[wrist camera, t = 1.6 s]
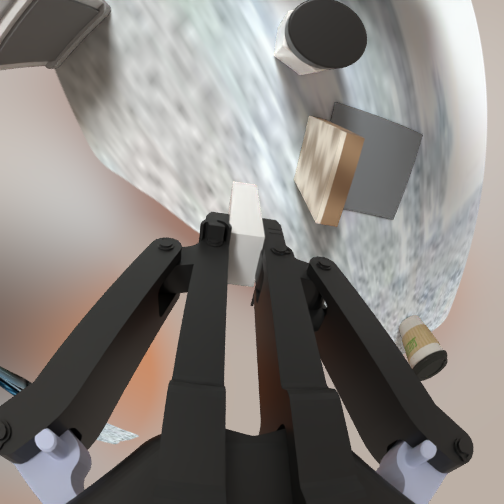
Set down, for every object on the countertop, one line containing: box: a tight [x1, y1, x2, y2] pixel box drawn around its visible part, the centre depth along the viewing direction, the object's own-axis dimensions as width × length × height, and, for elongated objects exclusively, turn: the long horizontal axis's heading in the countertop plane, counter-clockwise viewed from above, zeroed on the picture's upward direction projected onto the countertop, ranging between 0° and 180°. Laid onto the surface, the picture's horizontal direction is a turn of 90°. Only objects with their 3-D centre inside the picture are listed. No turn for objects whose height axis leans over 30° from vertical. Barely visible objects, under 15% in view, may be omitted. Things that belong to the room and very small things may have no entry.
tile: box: [294, 116, 365, 227], centre depth 32 cm, size 10×2×14 cm, turn 170°
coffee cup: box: [399, 315, 447, 381], centre depth 55 cm, size 10×10×15 cm
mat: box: [331, 102, 423, 219], centre depth 39 cm, size 16×16×1 cm
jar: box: [274, 0, 367, 75], centre depth 24 cm, size 9×8×12 cm
